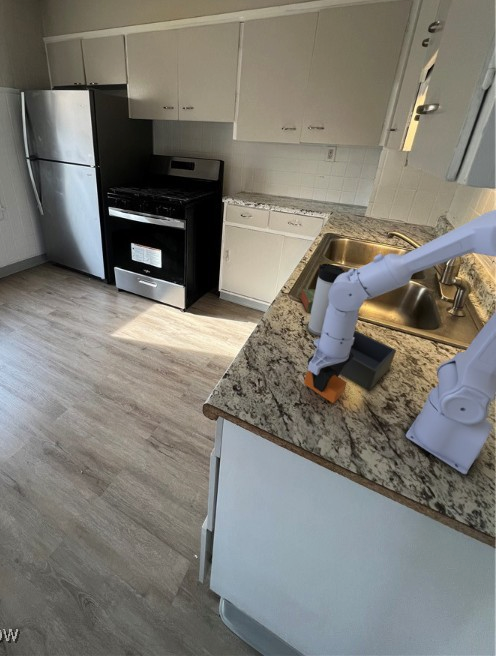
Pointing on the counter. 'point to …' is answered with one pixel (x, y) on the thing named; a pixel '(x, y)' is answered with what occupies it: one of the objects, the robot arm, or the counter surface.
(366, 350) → the bin
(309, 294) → the carton
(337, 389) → the block
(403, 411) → the counter surface
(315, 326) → the travel mug
